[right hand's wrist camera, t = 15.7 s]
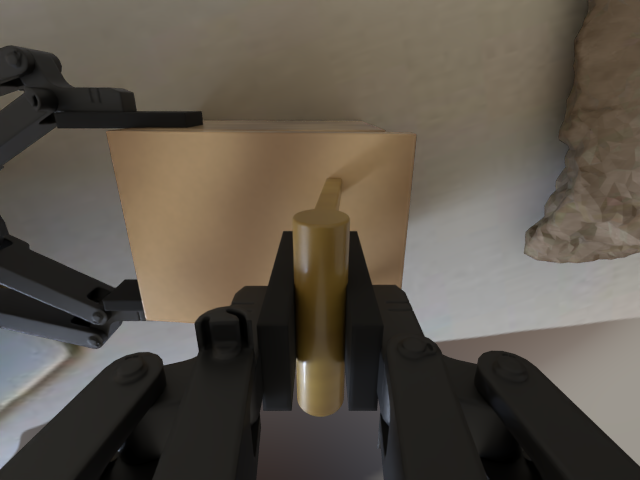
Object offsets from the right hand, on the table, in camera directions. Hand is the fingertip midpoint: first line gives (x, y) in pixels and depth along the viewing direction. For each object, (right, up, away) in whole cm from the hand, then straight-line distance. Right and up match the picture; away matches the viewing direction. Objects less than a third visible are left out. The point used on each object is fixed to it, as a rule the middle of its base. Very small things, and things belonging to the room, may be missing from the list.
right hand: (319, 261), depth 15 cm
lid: (-3, +1, +3) cm, 4 cm away
